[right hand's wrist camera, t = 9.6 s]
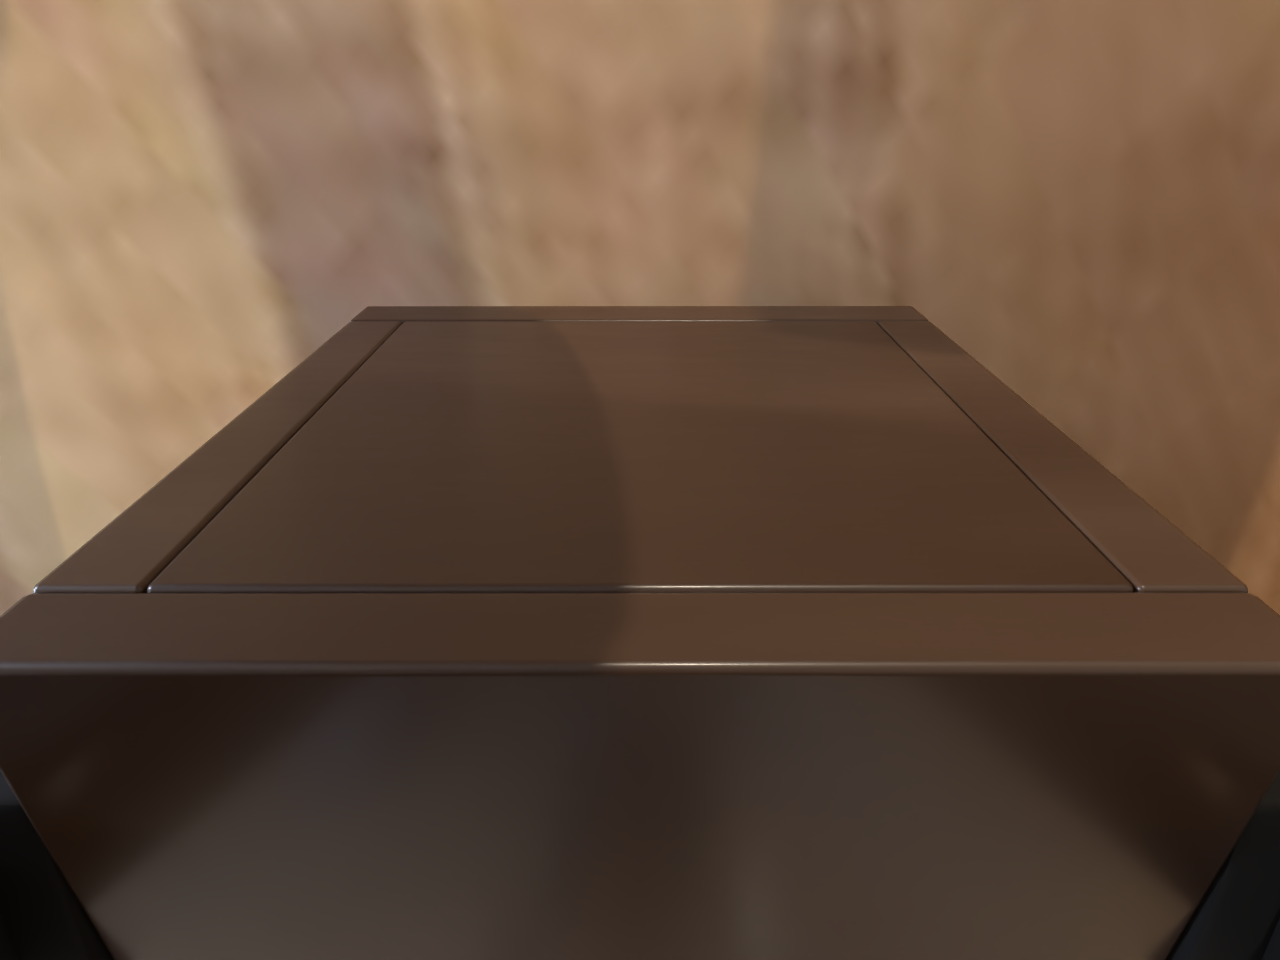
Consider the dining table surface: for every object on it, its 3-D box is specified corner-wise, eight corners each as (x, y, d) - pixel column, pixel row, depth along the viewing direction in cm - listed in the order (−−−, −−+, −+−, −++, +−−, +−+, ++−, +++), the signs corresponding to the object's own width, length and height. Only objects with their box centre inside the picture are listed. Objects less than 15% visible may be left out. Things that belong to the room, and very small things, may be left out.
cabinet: (800, 934, 26) (893, 1421, 16) (478, 934, 26) (387, 1422, 16) (912, 305, 15) (1348, 668, 6) (366, 306, 15) (-69, 668, 6)
